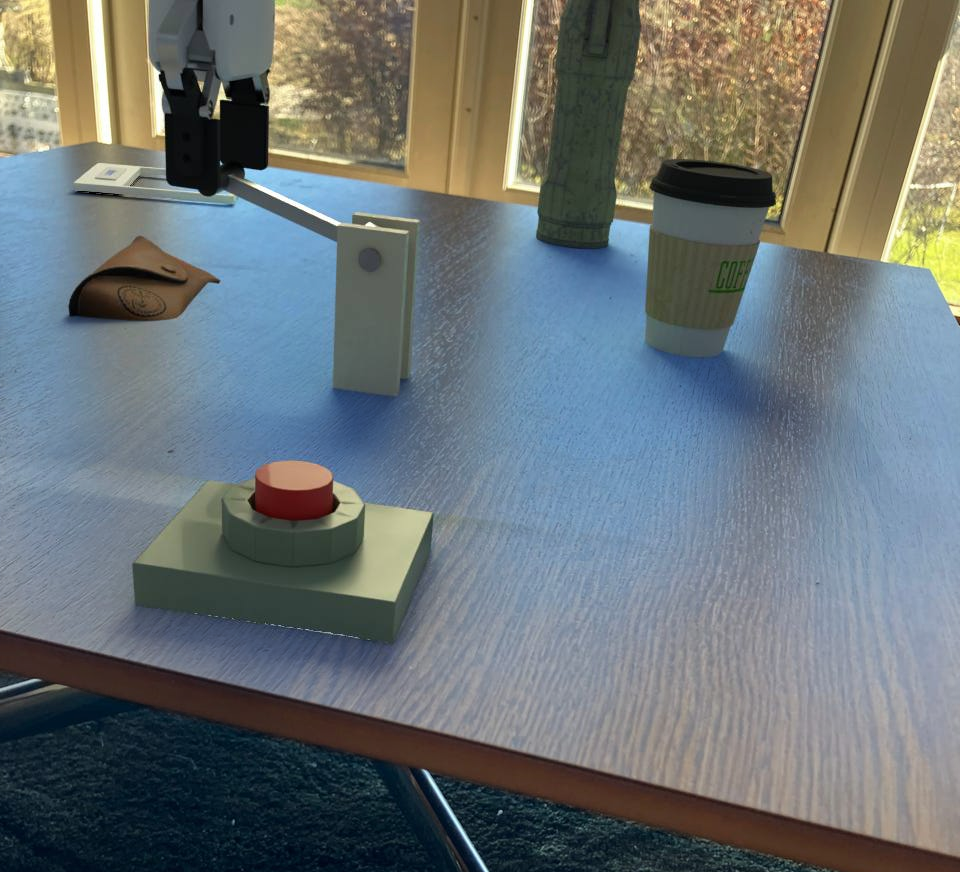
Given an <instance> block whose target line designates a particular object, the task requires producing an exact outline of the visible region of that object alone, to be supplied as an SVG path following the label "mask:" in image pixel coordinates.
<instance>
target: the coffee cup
mask: <svg viewBox="0 0 960 872" xmlns="http://www.w3.org/2000/svg"><path fill="white" fill-rule="evenodd" d="M773 183H774V182H773V175H772V174H771V173H770V172H768V171H765V170H762V169H758V168H754V167H751V166H746V165H739V164H735V163H728V162H721V161H713V160H704V159H694V158H693V159H691V158H690V159H689V158H671V159H664V160H662V162H661V164H660V167H659V169H658V172H657V174H656V175H655V176H652V179H651V182H650V184H649V186H648V189H650V191H652V192H653V201H652V202H653V203H652V218H651V219H652V220H651V224H650V225H649V231H648V233H649V234H648V250H647V251H648V252H647V267H646V268H647V270H646V288H645V289H646V290H645V302H644V303H645V305H644V312H645V314H646V317H645V318H646V320H645V333H644V336H645V337H644V340H645V343H646V344H647V345H648V346H650V347H651V348H653V349H655V350H658V351H660V352H664V353H668V354H671V355H675V356H683V357H688V358H689V357H691V358H711V357H712V358H713V357H716V356H719V355H721V354H723V351H724V349H725V346H726V343H727V339H728V337H729V333H730V330H731V327H732V326H733V325H734V324H735V320H736V317H737V315H738V311H739V308H740V306H741V302H742V300H743V299H742V298H743V296H744V293H745V289H746V288H747V287H746V286H747V283H748V280H749V277H750V274H751V272H752V268H753V265H754V262H755V260H756V256H757V253H758V250H759V247H760V244H761V240H760V238H761V234H762V232H763V228H764V224H765V222H766V219H767V217H768V216H767V215H768V213H769V210H770V208H772V207H775V205H776V206H777V200H776V198H777V194H776V192H775V191H774V189H773V188H774V186H773V185H774V184H773Z"/></svg>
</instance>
